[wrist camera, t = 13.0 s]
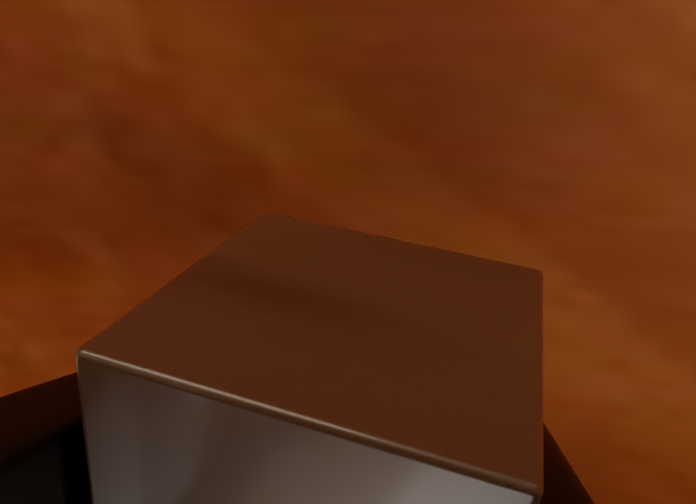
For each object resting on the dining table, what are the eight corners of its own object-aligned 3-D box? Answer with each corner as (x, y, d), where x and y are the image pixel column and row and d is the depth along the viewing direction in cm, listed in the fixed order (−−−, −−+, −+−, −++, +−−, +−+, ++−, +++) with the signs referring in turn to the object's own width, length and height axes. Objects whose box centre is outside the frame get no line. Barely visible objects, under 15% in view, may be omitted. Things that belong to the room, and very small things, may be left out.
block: (484, 492, 10) (447, 789, 6) (255, 422, 11) (103, 640, 7) (544, 268, 9) (546, 492, 5) (265, 209, 10) (70, 349, 6)
